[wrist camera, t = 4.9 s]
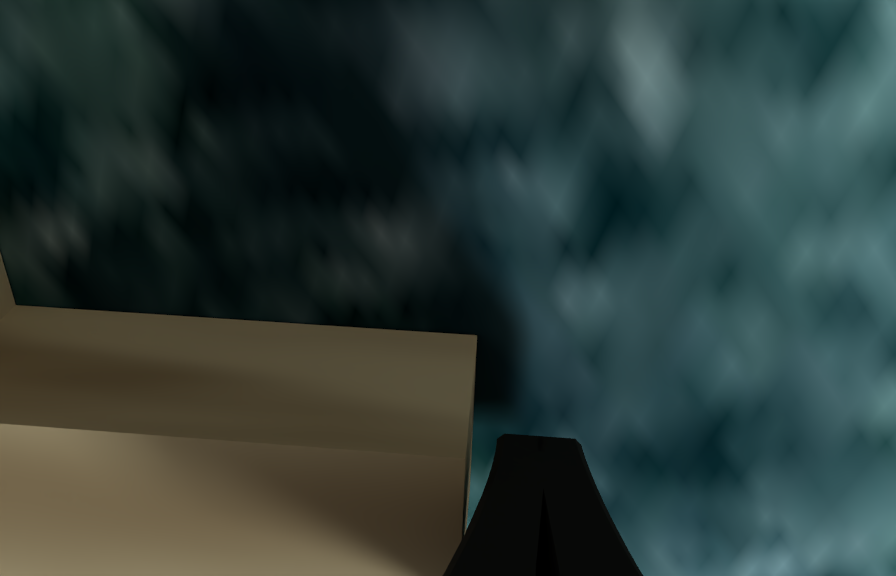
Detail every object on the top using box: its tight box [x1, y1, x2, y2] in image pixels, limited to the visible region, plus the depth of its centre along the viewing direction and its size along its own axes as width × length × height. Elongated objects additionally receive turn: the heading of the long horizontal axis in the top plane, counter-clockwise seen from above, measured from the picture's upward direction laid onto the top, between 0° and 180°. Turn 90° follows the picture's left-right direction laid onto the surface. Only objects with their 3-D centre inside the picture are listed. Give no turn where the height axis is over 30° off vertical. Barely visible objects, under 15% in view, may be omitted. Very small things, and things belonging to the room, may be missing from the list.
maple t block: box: [0, 253, 477, 576], centre depth 13 cm, size 12×12×3 cm
